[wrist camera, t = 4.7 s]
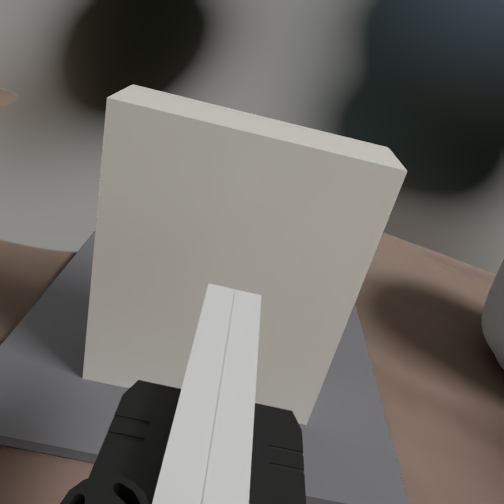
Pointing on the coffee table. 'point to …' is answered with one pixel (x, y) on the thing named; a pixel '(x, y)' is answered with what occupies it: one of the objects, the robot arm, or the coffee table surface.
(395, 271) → the coffee table surface
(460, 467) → the coffee table surface
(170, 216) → the tile
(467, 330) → the coffee table surface
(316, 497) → the mat
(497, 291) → the teacup
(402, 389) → the coffee table surface
